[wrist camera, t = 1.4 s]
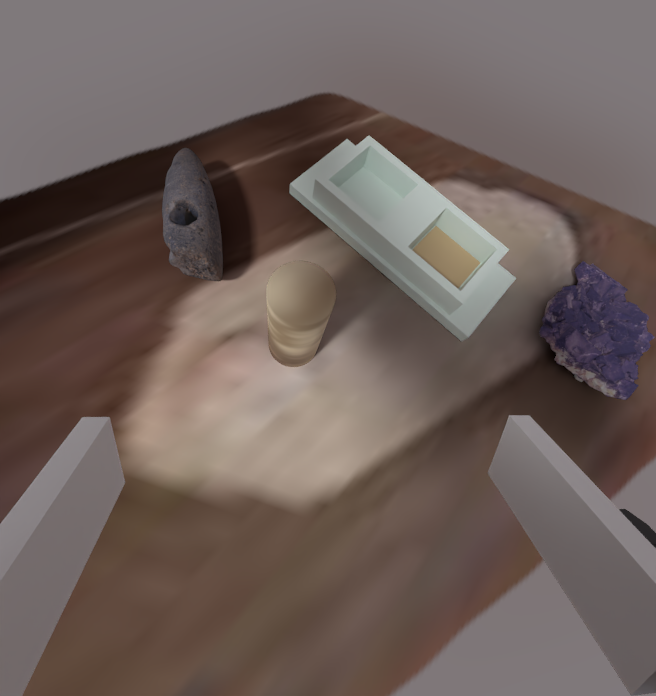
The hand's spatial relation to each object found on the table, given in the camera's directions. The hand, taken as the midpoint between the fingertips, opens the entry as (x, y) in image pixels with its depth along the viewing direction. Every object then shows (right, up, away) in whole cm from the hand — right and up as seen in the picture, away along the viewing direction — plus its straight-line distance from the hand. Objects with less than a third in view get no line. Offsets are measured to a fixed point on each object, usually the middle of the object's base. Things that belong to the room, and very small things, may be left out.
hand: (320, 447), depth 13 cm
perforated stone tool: (-14, +16, +28) cm, 35 cm away
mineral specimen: (+30, +5, +31) cm, 43 cm away
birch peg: (-3, +4, +25) cm, 26 cm away
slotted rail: (+9, +16, +31) cm, 36 cm away
